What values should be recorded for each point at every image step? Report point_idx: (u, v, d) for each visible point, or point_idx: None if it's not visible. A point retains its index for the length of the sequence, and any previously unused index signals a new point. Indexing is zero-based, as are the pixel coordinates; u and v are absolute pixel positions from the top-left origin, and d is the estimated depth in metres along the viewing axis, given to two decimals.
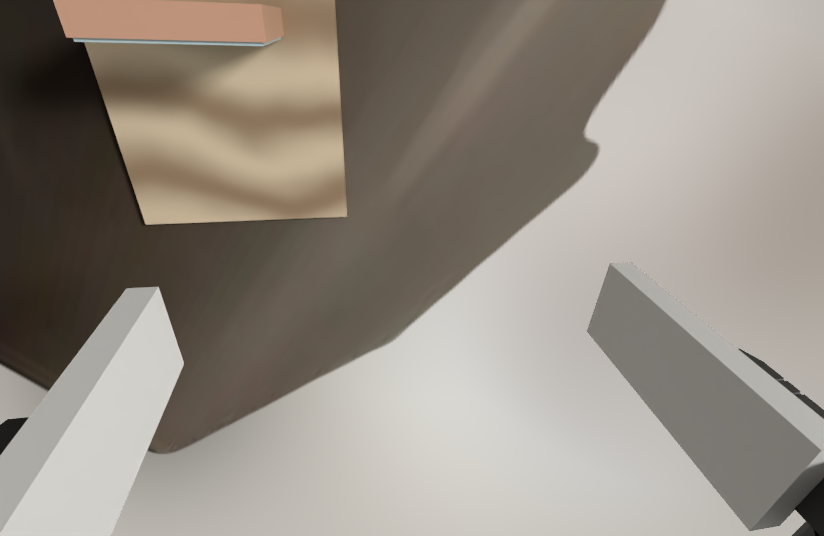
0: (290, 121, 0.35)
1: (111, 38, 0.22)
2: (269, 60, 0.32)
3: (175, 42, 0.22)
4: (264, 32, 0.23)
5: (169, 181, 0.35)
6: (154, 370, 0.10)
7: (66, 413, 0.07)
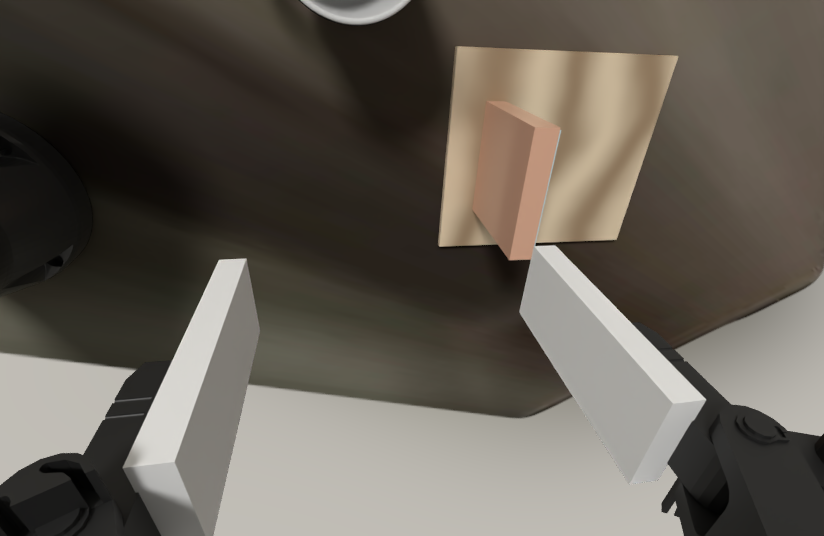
0: (572, 106, 0.37)
1: (536, 234, 0.31)
2: None
3: (545, 195, 0.30)
4: (553, 127, 0.27)
5: (590, 215, 0.43)
6: (246, 330, 0.12)
7: (204, 353, 0.09)
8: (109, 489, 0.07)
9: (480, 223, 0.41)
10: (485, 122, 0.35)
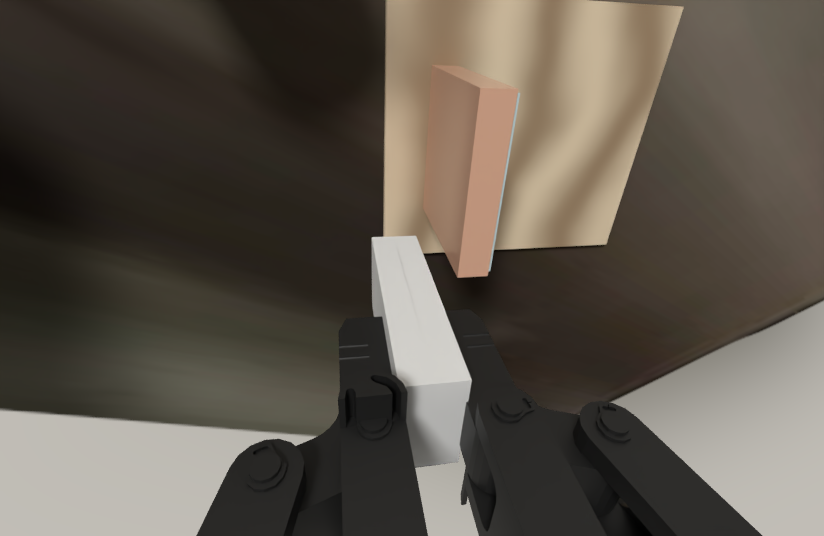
0: (546, 73, 0.28)
1: (492, 243, 0.23)
2: None
3: (502, 188, 0.21)
4: (507, 89, 0.18)
5: (573, 215, 0.34)
6: None
7: (407, 308, 0.10)
8: None
9: None
10: (432, 94, 0.27)
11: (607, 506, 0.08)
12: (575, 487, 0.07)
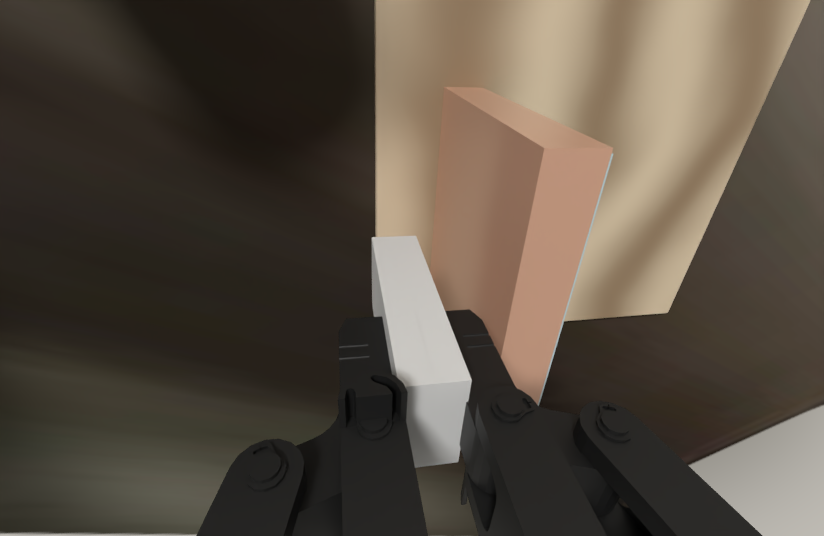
0: (608, 96, 0.20)
1: (544, 378, 0.14)
2: None
3: None
4: (593, 148, 0.10)
5: (629, 279, 0.26)
6: None
7: (407, 308, 0.10)
8: None
9: None
10: (443, 128, 0.18)
11: (607, 506, 0.08)
12: (575, 487, 0.07)
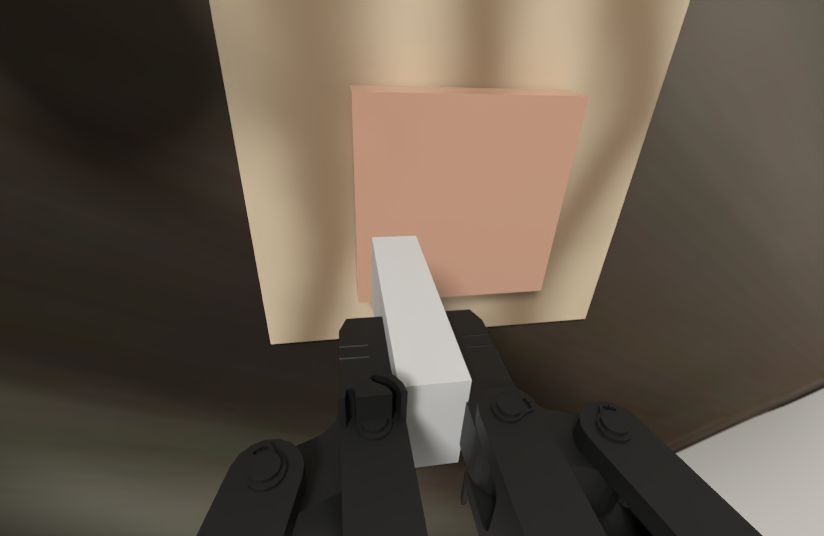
0: None
1: None
2: None
3: None
4: (572, 92, 0.19)
5: None
6: None
7: (407, 308, 0.10)
8: None
9: (339, 305, 0.23)
10: (366, 136, 0.17)
11: (607, 506, 0.08)
12: (575, 487, 0.07)
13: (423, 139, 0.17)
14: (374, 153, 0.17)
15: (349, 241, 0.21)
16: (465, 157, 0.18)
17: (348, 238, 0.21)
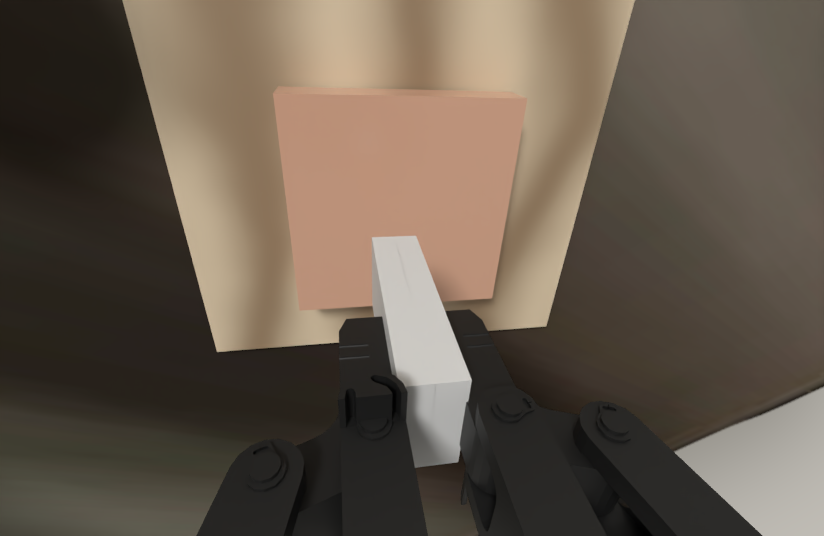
0: None
1: None
2: None
3: None
4: (513, 94, 0.18)
5: (494, 291, 0.24)
6: None
7: (407, 308, 0.10)
8: None
9: (286, 312, 0.23)
10: (292, 139, 0.16)
11: (607, 506, 0.08)
12: (576, 488, 0.07)
13: (354, 142, 0.17)
14: (303, 157, 0.16)
15: (291, 246, 0.21)
16: (400, 161, 0.17)
17: (289, 244, 0.20)
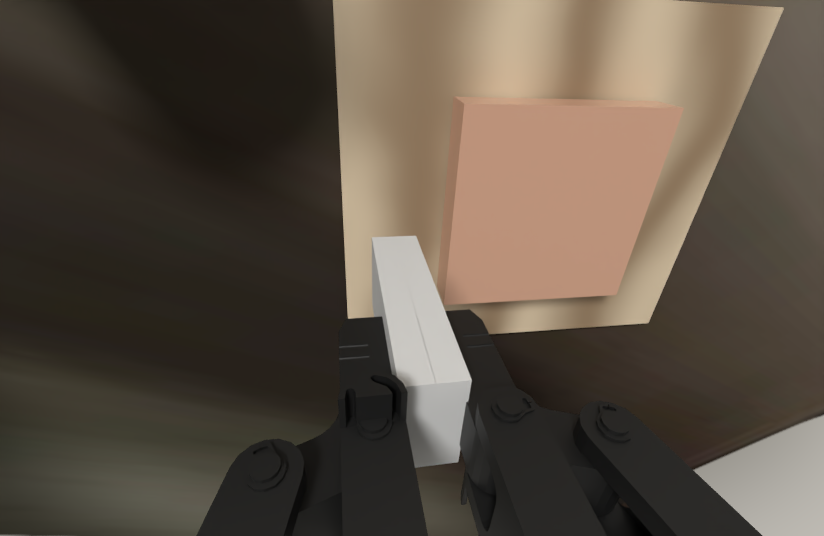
0: None
1: None
2: None
3: None
4: (662, 103, 0.19)
5: None
6: None
7: (407, 308, 0.10)
8: None
9: None
10: (472, 145, 0.17)
11: (607, 506, 0.08)
12: (576, 488, 0.07)
13: (524, 148, 0.18)
14: (477, 162, 0.18)
15: (434, 245, 0.22)
16: (561, 166, 0.19)
17: (433, 242, 0.22)
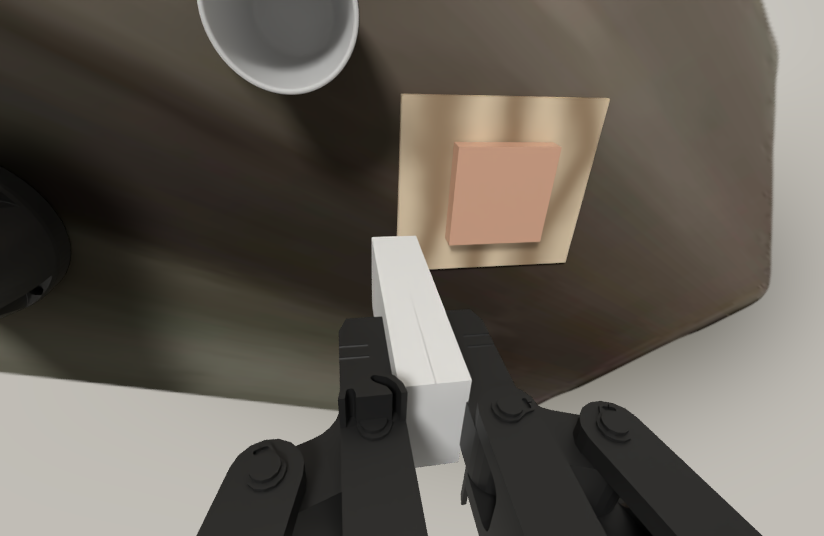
0: None
1: None
2: None
3: None
4: (554, 143, 0.40)
5: None
6: None
7: (407, 308, 0.10)
8: None
9: (434, 249, 0.44)
10: (462, 165, 0.38)
11: (607, 506, 0.08)
12: (576, 488, 0.07)
13: (487, 166, 0.38)
14: (465, 172, 0.38)
15: (444, 214, 0.42)
16: (505, 174, 0.39)
17: (443, 213, 0.42)
